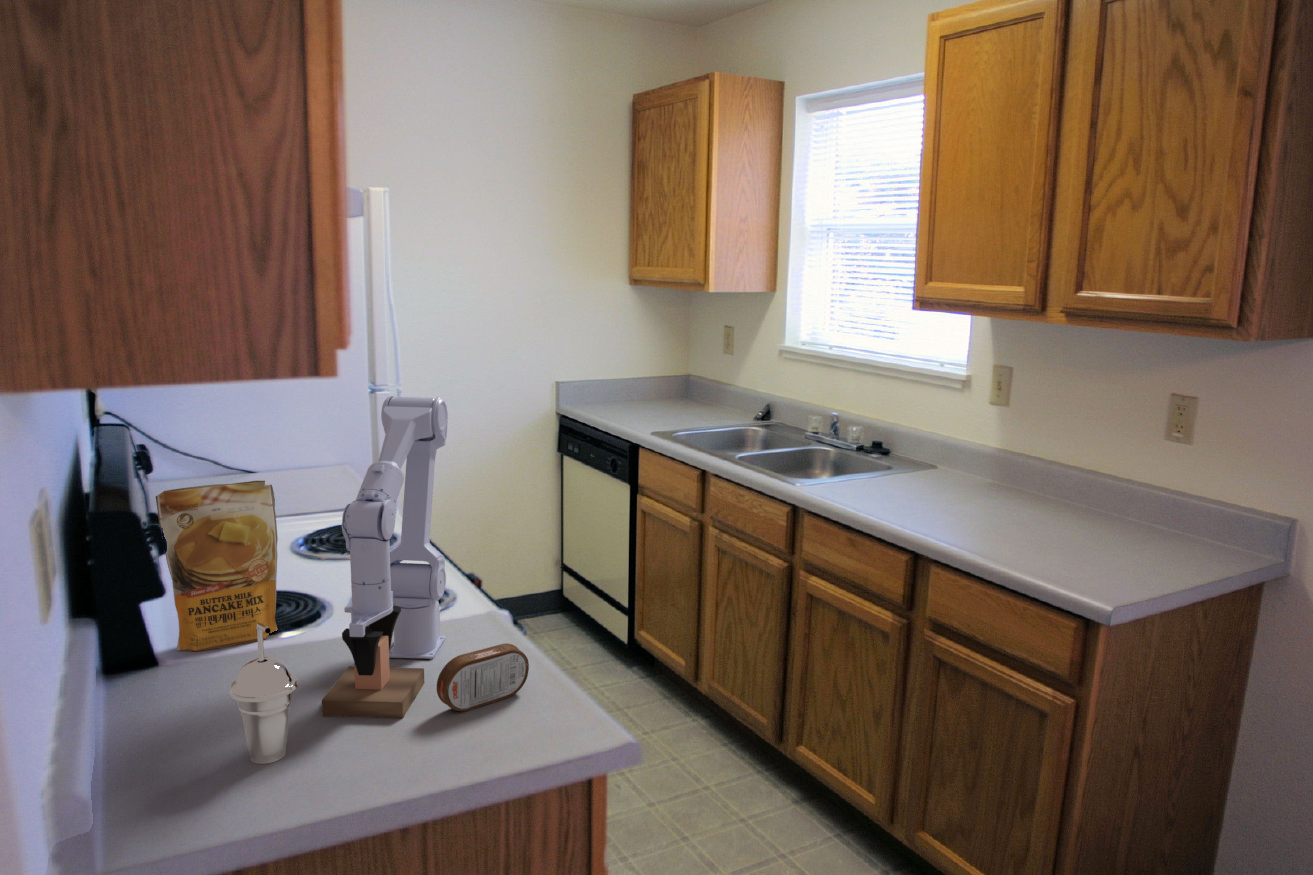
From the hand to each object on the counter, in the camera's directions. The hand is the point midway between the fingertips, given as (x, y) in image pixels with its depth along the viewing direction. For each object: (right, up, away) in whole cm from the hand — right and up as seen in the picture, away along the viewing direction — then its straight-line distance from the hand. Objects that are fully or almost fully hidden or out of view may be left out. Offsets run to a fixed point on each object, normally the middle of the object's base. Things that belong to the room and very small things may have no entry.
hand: (374, 663), depth 145 cm
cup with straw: (-10, -9, -16) cm, 21 cm away
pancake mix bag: (-33, -1, +22) cm, 40 cm away
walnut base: (0, -6, +1) cm, 6 cm away
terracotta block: (0, -3, +1) cm, 3 cm away
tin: (+17, -6, +1) cm, 18 cm away
